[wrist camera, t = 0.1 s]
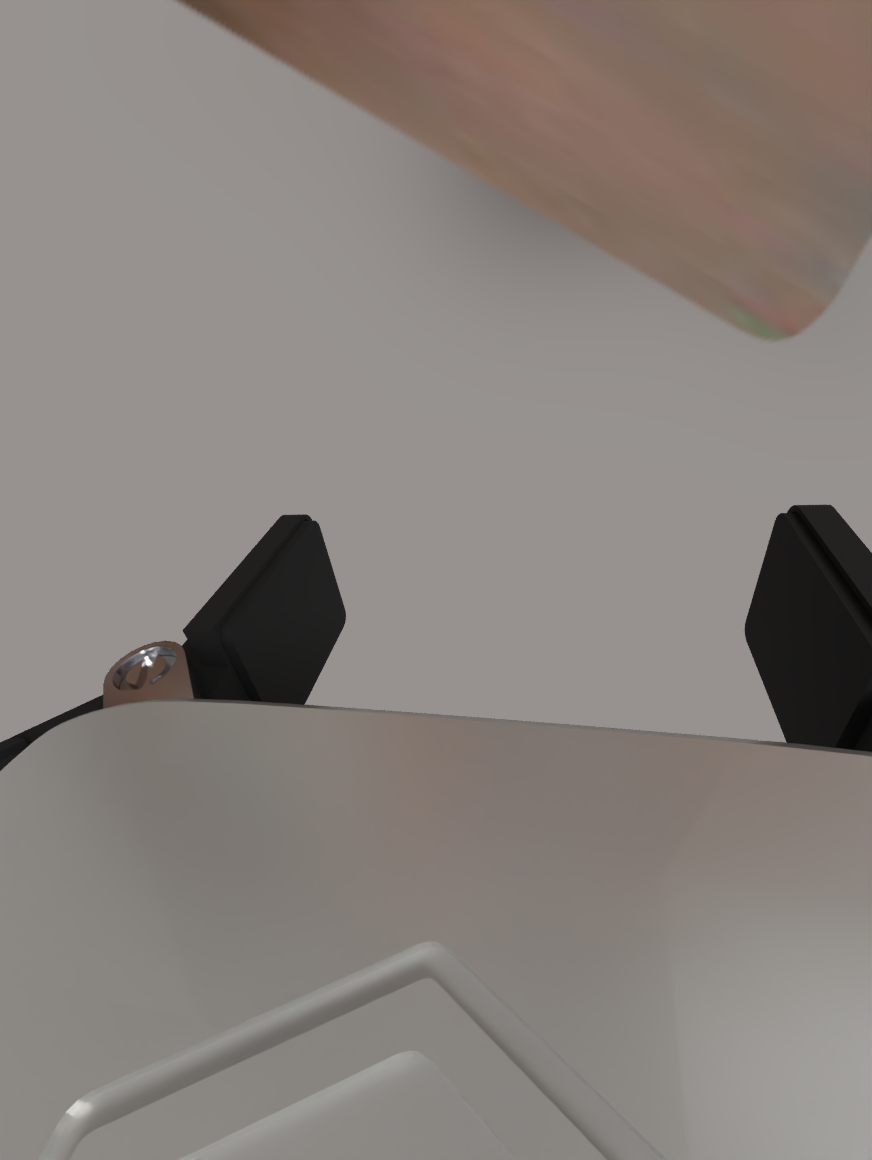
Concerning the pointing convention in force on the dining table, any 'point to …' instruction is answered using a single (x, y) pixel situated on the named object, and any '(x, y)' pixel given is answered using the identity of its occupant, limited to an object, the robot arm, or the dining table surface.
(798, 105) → the dining table surface
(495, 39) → the dining table surface
